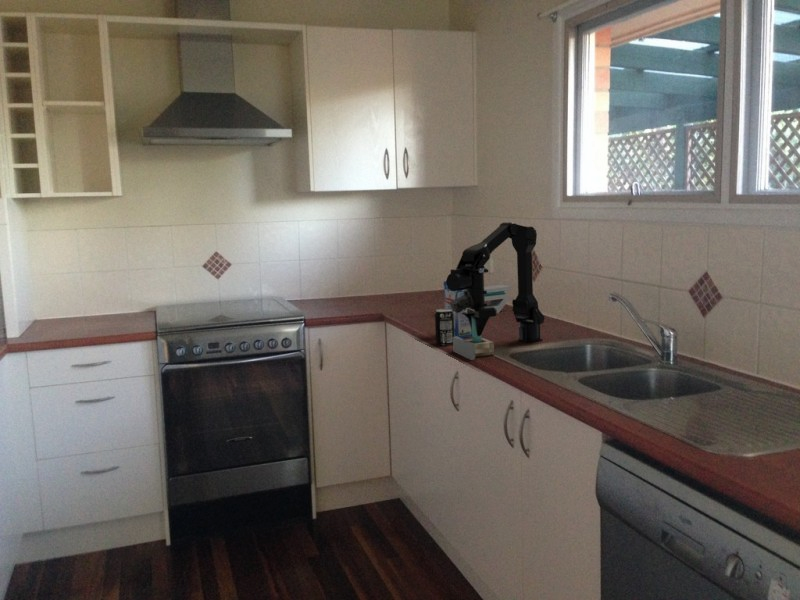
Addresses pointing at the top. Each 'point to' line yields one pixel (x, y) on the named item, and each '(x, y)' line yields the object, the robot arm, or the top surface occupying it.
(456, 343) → the wall
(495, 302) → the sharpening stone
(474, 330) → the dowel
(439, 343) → the beverage can
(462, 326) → the milk carton
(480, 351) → the sliding block
